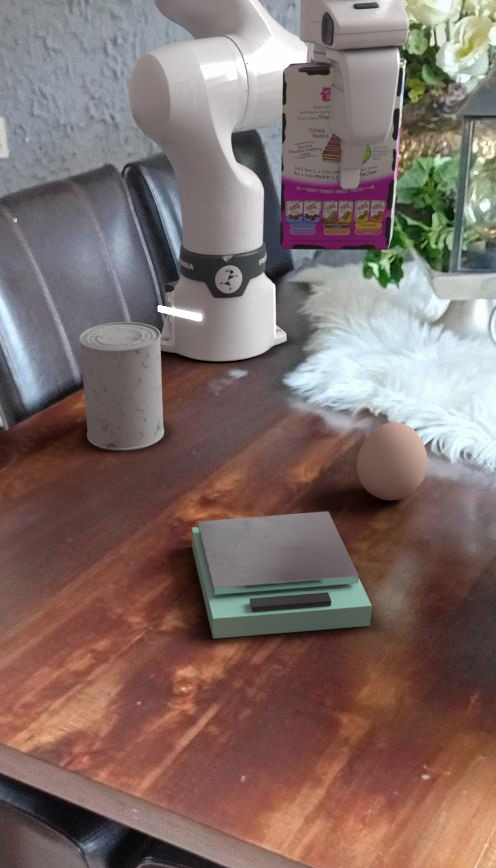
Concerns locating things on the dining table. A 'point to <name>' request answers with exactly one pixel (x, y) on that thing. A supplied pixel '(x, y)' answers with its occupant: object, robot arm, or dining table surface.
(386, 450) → the egg
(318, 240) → the candy bar box
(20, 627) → the dining table surface
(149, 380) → the tin can
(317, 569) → the scale pan
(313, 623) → the scale
